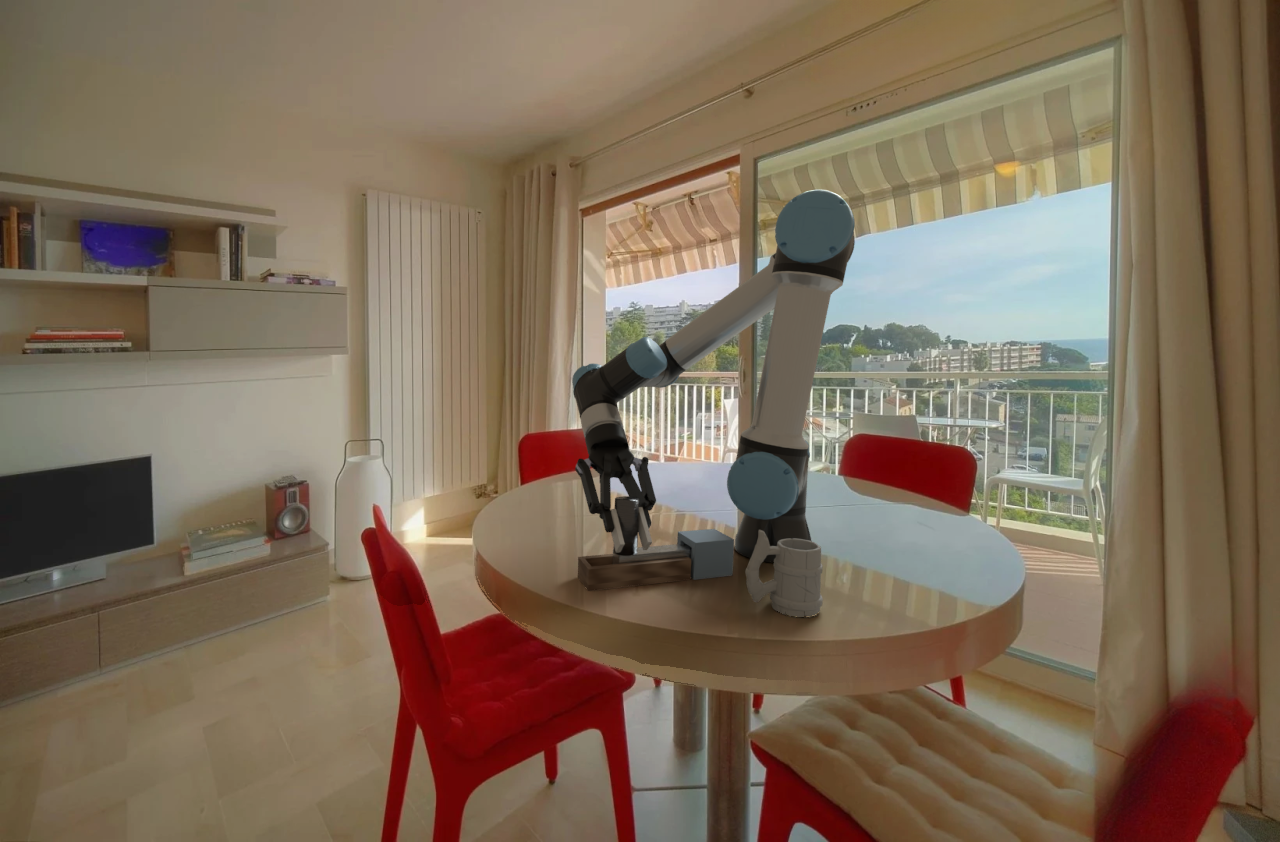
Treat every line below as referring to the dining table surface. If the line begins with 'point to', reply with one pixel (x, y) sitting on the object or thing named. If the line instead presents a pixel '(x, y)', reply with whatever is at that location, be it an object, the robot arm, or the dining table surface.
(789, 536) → the robot arm
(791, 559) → the mug
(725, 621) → the dining table surface
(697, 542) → the socket block
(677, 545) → the l-shaped peg bar
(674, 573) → the walnut channel
